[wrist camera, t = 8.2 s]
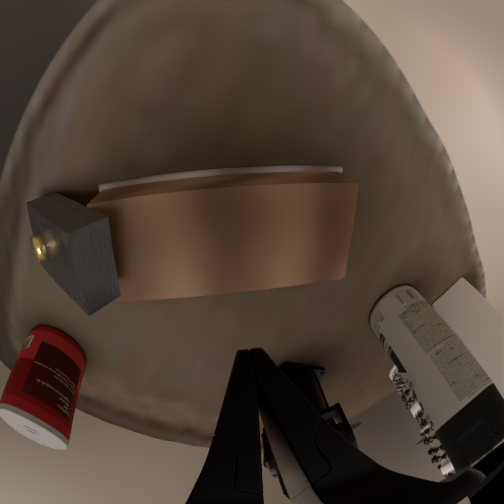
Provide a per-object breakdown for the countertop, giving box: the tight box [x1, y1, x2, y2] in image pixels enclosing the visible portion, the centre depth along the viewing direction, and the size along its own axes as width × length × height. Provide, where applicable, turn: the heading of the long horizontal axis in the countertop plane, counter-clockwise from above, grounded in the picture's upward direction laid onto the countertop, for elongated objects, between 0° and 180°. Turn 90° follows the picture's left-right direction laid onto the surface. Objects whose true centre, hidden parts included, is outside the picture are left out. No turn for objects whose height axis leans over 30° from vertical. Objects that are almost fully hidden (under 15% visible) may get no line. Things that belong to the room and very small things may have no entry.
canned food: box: [0, 326, 85, 450], centre depth 18 cm, size 8×8×11 cm
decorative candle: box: [389, 364, 493, 478], centre depth 25 cm, size 9×9×25 cm
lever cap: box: [27, 192, 121, 316], centre depth 14 cm, size 8×5×3 cm
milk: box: [432, 277, 504, 399], centre depth 20 cm, size 6×6×22 cm
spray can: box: [370, 285, 504, 472], centre depth 18 cm, size 7×7×20 cm
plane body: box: [87, 165, 359, 302], centre depth 17 cm, size 17×8×4 cm, turn 91°
